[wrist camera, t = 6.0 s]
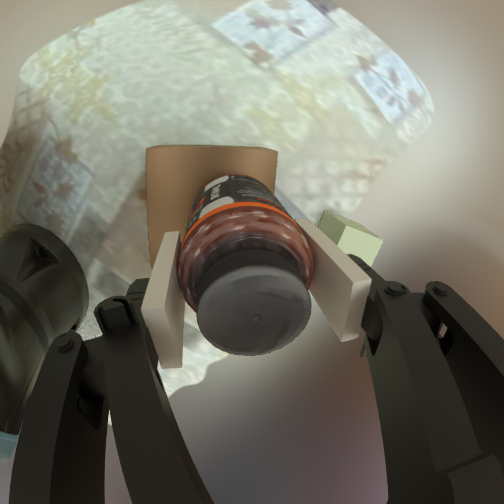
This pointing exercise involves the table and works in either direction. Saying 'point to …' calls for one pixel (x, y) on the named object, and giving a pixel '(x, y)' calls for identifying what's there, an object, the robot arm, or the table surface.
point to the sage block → (350, 236)
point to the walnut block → (194, 181)
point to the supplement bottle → (245, 267)
